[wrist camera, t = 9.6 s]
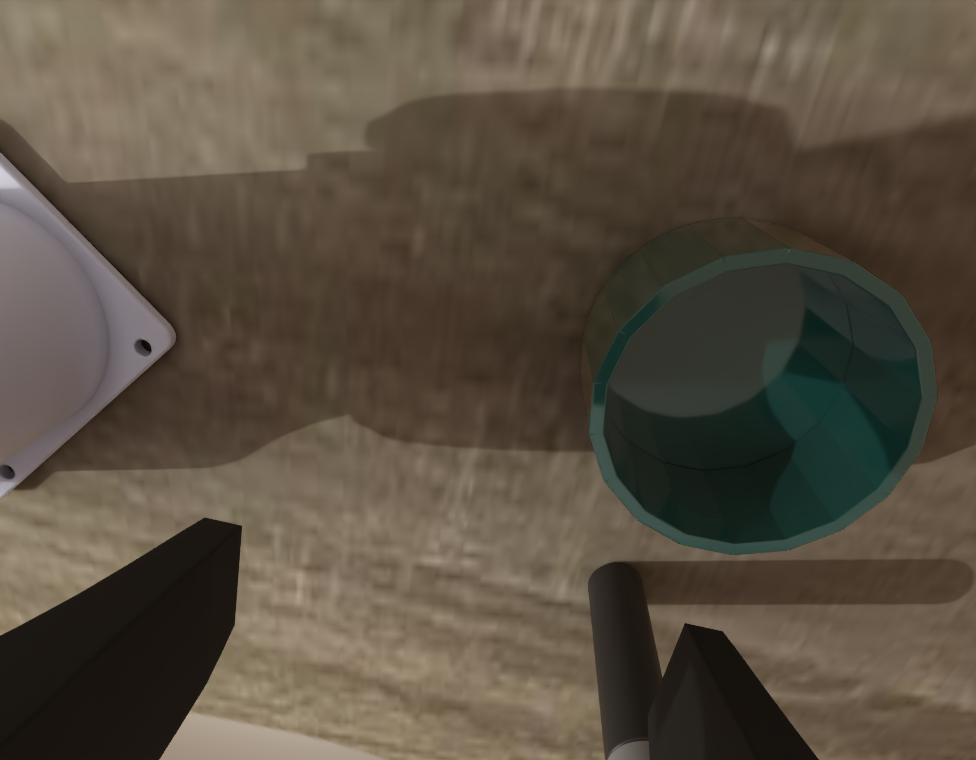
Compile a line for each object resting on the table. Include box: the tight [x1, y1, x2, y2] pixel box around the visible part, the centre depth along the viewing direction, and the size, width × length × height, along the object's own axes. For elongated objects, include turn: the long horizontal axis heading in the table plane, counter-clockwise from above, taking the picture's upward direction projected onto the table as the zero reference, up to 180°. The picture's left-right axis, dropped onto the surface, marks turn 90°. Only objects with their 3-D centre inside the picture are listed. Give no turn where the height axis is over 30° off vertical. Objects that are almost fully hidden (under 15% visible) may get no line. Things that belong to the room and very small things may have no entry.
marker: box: [588, 563, 663, 760], centre depth 19 cm, size 2×2×8 cm
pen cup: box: [581, 218, 938, 555], centre depth 18 cm, size 8×8×4 cm
